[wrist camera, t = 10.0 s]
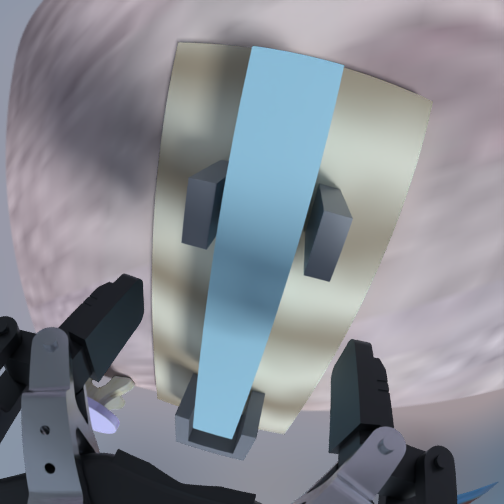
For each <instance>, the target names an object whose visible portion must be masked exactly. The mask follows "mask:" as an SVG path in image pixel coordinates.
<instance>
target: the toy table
mask: <svg viewBox="0 0 504 504" xmlns="http://www.w3.org/2000/svg"><path fill="white" fill-rule="evenodd" d="M92 380H93V379H91V378H89V379H88V380H87V382H86V383H85V385H86V391H87V399H88V406H89V413H90V419H91V425H92V429H93V430H95V431H97V432H102V433H108V434H111V433H115V432H116V430H117V428H118V426H119V424H120V422H119V419H118V418H117V417H116V416H115V415H114V414H113V413H112V412H111V411H109V410H114V409H122V408H123V407H124V405H125V401H124V399H123V398H122V397H121V395H123V394H125V393H127V392H129V391H130V390H132V389H133V387H134V386H135V384H134V382H133V381H132V380H131V379H130V378H125V377H118V376H114V377H113V378H112V379H111V380H110V381H109V382H108V383H107V384H106V385H104V386H102V387H99V388H97V387H96V386H94V385H93V383H92Z"/></svg>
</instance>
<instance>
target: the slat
mask: <svg viewBox="0 0 504 504" xmlns="http://www.w3.org/2000/svg"><path fill="white" fill-rule="evenodd" d="M343 69H344V65H341V64H338V63H334V62H330V61H327V60H323V59H319V58H315V57H310V56H306V55H302V54H297V53H292V52H287V51H282V50H276V49H270V48H264V47H257V46H252V50H251V55H250V59H249V63H248V68H247V73H246V77H245V82H244V87H243V91H242V96H241V101H240V106H239V111H238V116H237V121H236V126H235V131H234V137H233V142H232V147H231V153H230V158H229V163H228V169H227V175H226V180H225V186H224V192H223V198H222V204H221V210H220V216H219V222H218V228H217V235H216V241H215V248H214V254H213V261H212V268H211V275H210V282H209V289H208V297H207V304H206V312H205V319H204V327H203V336H202V344H201V352H200V361H199V370H198V380H197V389H196V399H195V410H194V421H193V428H194V429H198V430H201V431H204V432H207V433H211V434H214V435H218V436H222V437H225V438H229V439H232V438H233V435H234V433H235V430H236V427H237V425H238V422H239V419H240V417H241V414H242V411H243V409H244V406H245V403H246V400H247V398H248V395H249V392H250V389H251V387H252V384H253V381H254V378H255V375H256V373H257V370H258V367H259V364H260V361H261V358H262V355H263V353H264V350H265V347H266V344H267V341H268V338H269V335H270V332H271V329H272V326H273V323H274V320H275V317H276V314H277V311H278V307H279V304H280V301H281V298H282V295H283V292H284V289H285V285H286V282H287V279H288V276H289V273H290V269H291V266H292V263H293V260H294V256H295V253H296V250H297V246H298V243H299V239H300V236H301V233H302V229H303V226H304V222H305V219H306V215H307V212H308V208H309V205H310V201H311V197H312V194H313V190H314V187H315V183H316V179H317V175H318V172H319V168H320V164H321V160H322V156H323V153H324V149H325V145H326V141H327V137H328V133H329V129H330V125H331V121H332V117H333V112H334V108H335V104H336V100H337V95H338V91H339V87H340V82H341V78H342V73H343Z"/></svg>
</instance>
